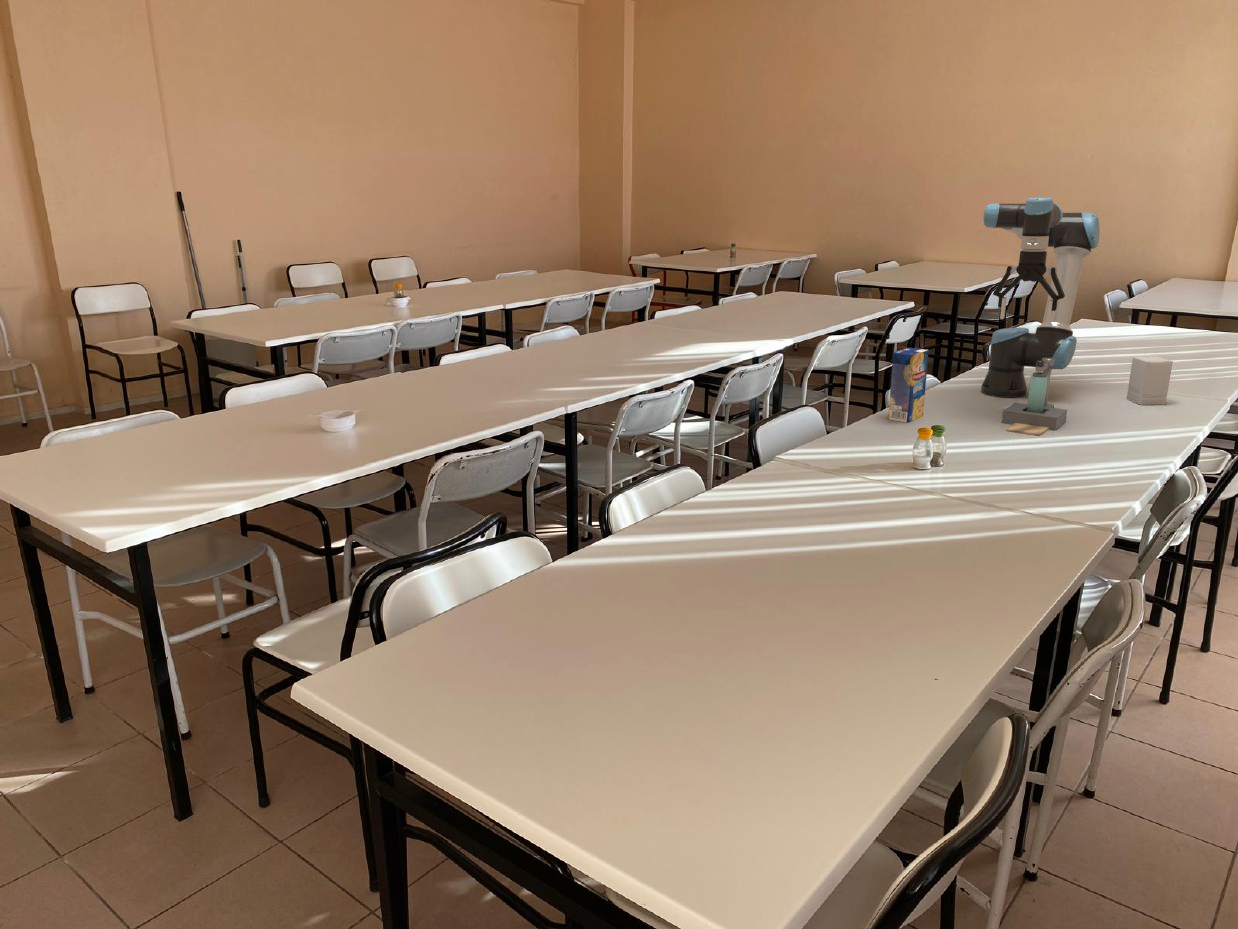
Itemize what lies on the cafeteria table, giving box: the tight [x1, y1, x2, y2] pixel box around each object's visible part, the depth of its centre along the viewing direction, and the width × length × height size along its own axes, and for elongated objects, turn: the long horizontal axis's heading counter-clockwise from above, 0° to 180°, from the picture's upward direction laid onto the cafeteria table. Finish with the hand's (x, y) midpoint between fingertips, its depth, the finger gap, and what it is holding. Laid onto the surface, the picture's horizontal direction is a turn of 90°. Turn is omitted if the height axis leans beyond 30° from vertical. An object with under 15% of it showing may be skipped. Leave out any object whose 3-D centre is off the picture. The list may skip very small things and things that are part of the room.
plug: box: [1027, 371, 1048, 414], centre depth 280 cm, size 5×5×16 cm
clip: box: [1034, 358, 1055, 373], centre depth 280 cm, size 12×4×3 cm, turn 141°
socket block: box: [1001, 367, 1068, 431], centre depth 282 cm, size 16×16×16 cm
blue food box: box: [887, 347, 929, 423], centre depth 288 cm, size 7×11×22 cm, turn 137°
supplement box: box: [1126, 355, 1173, 406], centre depth 301 cm, size 9×9×15 cm
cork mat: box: [1005, 423, 1049, 437], centre depth 275 cm, size 10×10×1 cm
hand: (1025, 320), depth 277 cm, fingers open, 13 cm apart
